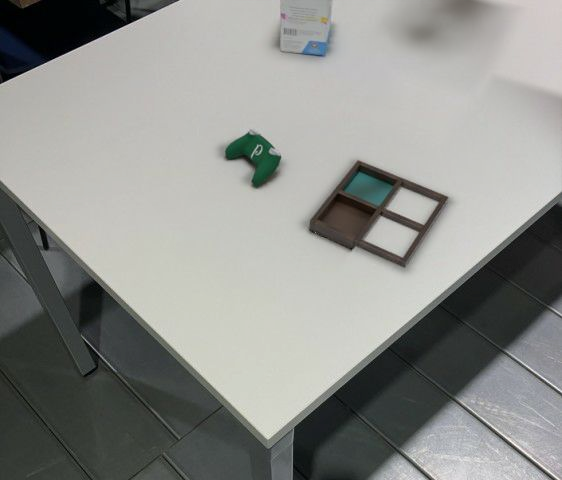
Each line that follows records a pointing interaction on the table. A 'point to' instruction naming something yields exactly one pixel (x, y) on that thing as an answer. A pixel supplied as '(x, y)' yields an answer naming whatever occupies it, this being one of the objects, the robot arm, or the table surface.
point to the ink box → (305, 26)
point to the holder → (369, 210)
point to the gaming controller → (256, 154)
